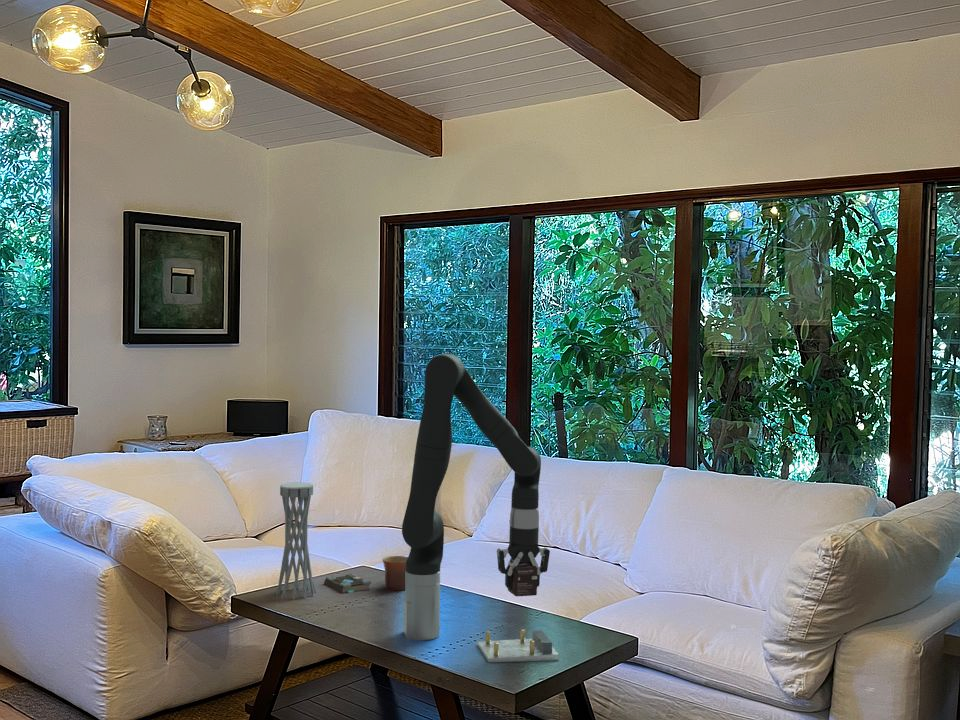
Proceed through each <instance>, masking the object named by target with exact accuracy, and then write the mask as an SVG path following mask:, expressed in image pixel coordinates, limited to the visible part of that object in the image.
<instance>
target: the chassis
mask: <svg viewBox="0 0 960 720" xmlns="http://www.w3.org/2000/svg"><path fill="white" fill-rule="evenodd" d="M531 633H532V634H531V638H526V629H520V635H519V636H520V639H519V638H518V639H501V640H499V639H498V640H491V634H492V633H491V631H490V630H488V631H487V630H486V631H485V640H483V641H477V643H476V644H477V647H478V648H479V650H480V652H481V653H482V655H483V656H484V658H485V659H486V661H487V662H488V663H508V662H538V661H539V662H541V661H559V660H560V657H559V656H560V654H559V652H558V651H557V650H556V649H555V648H554V647H553V642H552V641H551V640H550V638H549V637H548V636H547V635H546V633H544V632H543V631H542V630H532V631H531Z"/></svg>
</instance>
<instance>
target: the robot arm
mask: <svg viewBox="0 0 960 720" xmlns="http://www.w3.org/2000/svg"><path fill="white" fill-rule="evenodd" d="M424 372H425V373H424V394H423V396H424V397H423V398H424V399H423V407H422V413H421V417H420V420H419V421H420V423H419V427H418V434H417V437H416V438H417V439H416V444H415V450H414V458H413V459H414V460H413V468H412V475H411V481H410V491H409V497H408V501H407V505H406V507H405V508H406V509H405V513H404V517H403V521H402V524H401V534H402V537H403V540H404V541H405V543H406V545H408V546H409V547H410V550H409V554H408V556H407V557H408V558H407V560H406V567H405V590H404V591H405V593H404V597H403V634H404V638H406V640H414V641H428V640H434V639H437V638H439V637H440V629H441V625H440V624H441V623H440V622H441V621H440V619H441V618H440V615H441V614H440V613H441V603H440V602H441V566H442V565H441V564H442V560H443V558H444V557H443V556H444V546H445V545H444V539H445V528H444V521H443V519H442V517H441V515H440V513H439V512H437V511H436V510H435V509H436V508H435V507H436V501H437V497H438V493H439V491H440V488H441V486H442V485H443V484H442V483H443V481H444V479H445V476H446V474H447V471H448V468H449V464H450V458H451V453H452V445H453V428H452V417H451V414H452V412H451V411H452V404H453V400H454V397H455V398H456V399H457V400H458V401H459V402H460V403H461V404H462V405H463V407H464V408H465V409H466V410H467V412H468V414H469V415H470V416H471V418H472V420H473V422H474V423H475V425H476V426H477V428H478V429H479V430H480V431H481V433H482V435H484V436H485V438H486V439H487V440H488V441H489V442H490V443H491V444H492V445H493V446H494V448H496V449H497V451H498V452H499V453H500V455H501V456H502V458H503V459H504V460H505V462H506V463H507V465H508V466H509V468H511V470H512V471H513V472H514V480H513V481H514V482H513V486H512V490H511V503H510V504H511V505H510V506H511V507H510V513H509V520H508V521H509V535H508V536H509V541H508V547H507V548H503V549H501V548H497V549H496V556H497V569H498V571H499V572H500V574H503V575H504V578H505V579H504V585H505V587H506V589H507V590H508V589H509V590H512V573H513V571H514V568H515V567H517V565H518V564H531V565H532V566H533V567H537V588H538V587H540V577H541V574H543V573H547V572H548V567H549V561H550V552H551V550H550V549H549V548H547V547H542V548H541V547H539V533H540V532H539V528H540V525H539V524H540V515H539V500H540V499H539V497H540V496H539V487H540V486H539V484H540V478H541V467H542V459H541V458H542V457H541V455H540V453H539V451H538V450H537V449H535V448H534V447H532V446H527V444H526V443H525V442H524V441H523V440H522V439H521V437H520V436H519V433H518V431H517V430H516V428H515V427H514V426H513V425H512V423H510V421H509V420H508V419H507V418H506V417H505V415H503V413H501V412H500V410H499V409H498V408H497V407H496V406H495V405H494V404H493V402H491V400H490V399H489V398H488V397H487V396H486V394H484V393H483V391H482V390H481V389H480V387H479V385H477V382H476V381H475V380H474V379H473V377H472V375H471V374H470V372H469V371H468V369H467V368H466V366H465V365H464V363H463V362H462V360H461V359H460V357H458V356H457V355H455V354H453V353H442V354H437V355H435V356H434V357H432V358H430V360H428V363H427V364H426V367H425V371H424ZM507 555H509V557H510V559H509V560H508V562H507V566H506V563H505V562H506V561H505V559H506V558H507ZM538 555H540V557H541V559H540V564H539V565H538V562H537V560H536V558H537V557H538Z"/></svg>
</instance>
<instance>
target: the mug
mask: <svg viewBox="0 0 960 720" xmlns="http://www.w3.org/2000/svg"><path fill="white" fill-rule="evenodd" d="M407 558H408V556H403V555H390V556H386V557H383V558H382V564H383V567H384V578H383V580H384V581H383V582H384V583H383V585H384V589H385V590H387V591H392V592H403V591H405V567H406V560H407Z"/></svg>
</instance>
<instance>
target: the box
mask: <svg viewBox="0 0 960 720" xmlns="http://www.w3.org/2000/svg"><path fill="white" fill-rule="evenodd" d="M507 591H508V592H509V593H510V594H512V595H513V596H515V597H531V596H533V597H534V596H537V593H538V587H537V567H533V566H532V565H531V564H518V565H517V567H515V568H514V571H513V573H512V590H509V589H508V588H507Z"/></svg>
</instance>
